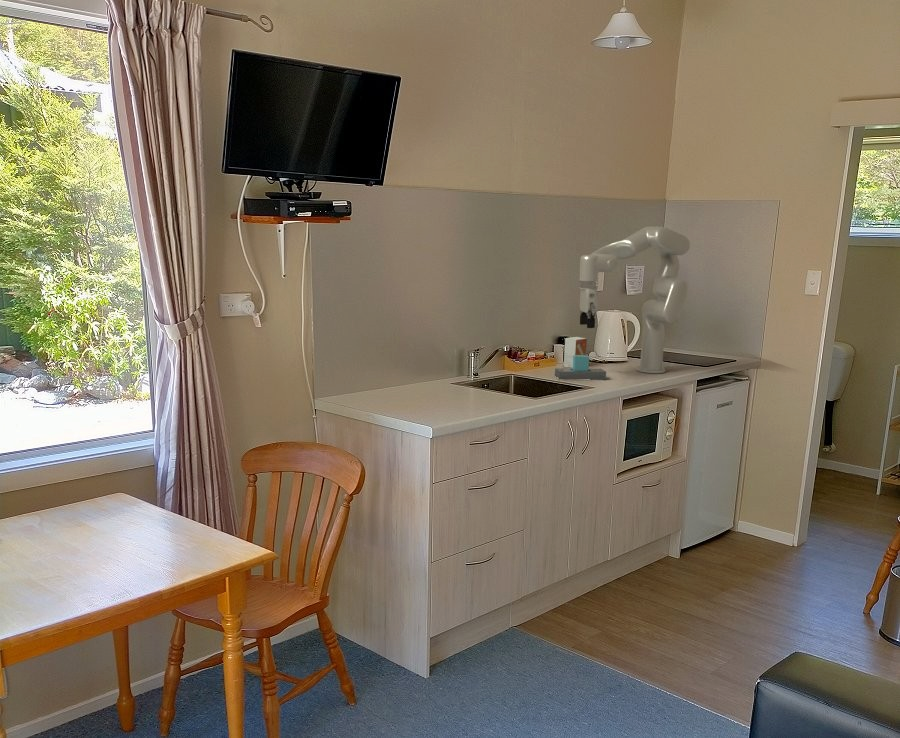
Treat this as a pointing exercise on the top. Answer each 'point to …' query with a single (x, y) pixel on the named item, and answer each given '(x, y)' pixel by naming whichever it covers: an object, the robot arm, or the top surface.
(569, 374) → the rail
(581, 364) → the teal notched block
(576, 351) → the small box
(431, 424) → the top surface
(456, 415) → the top surface
